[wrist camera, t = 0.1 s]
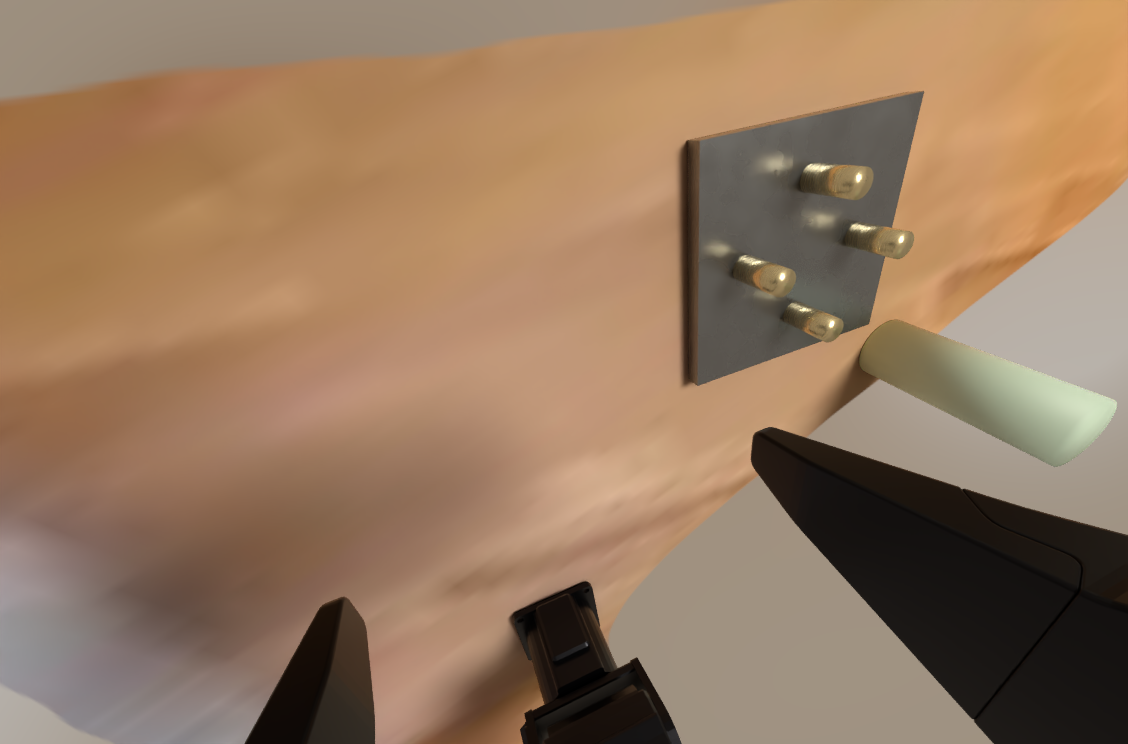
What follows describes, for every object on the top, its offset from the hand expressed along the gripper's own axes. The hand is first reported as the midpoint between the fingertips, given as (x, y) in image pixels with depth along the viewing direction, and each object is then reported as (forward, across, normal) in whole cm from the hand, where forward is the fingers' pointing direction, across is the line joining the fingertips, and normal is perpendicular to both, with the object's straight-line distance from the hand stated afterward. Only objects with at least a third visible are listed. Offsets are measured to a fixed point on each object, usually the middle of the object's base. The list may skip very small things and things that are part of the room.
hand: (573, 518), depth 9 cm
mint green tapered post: (+15, -30, +13) cm, 36 cm away
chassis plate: (+15, -19, +2) cm, 24 cm away
